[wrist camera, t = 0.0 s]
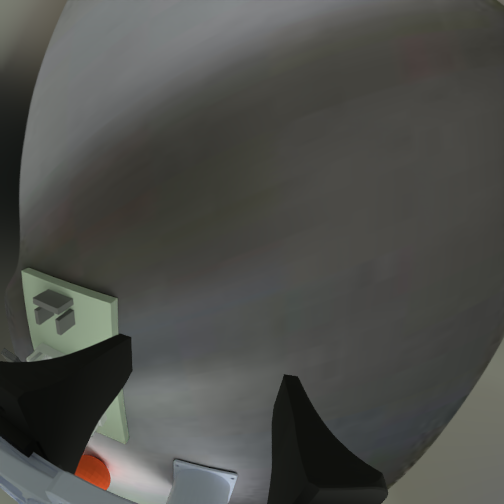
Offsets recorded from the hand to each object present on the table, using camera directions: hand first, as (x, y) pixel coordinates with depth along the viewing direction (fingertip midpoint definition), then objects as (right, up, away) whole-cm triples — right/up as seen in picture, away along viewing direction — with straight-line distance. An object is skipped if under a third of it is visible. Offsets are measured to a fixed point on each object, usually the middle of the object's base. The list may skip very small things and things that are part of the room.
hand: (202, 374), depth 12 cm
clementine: (-22, -27, +19) cm, 40 cm away
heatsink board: (-17, -7, +14) cm, 23 cm away
